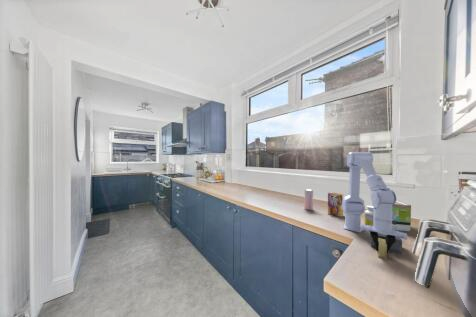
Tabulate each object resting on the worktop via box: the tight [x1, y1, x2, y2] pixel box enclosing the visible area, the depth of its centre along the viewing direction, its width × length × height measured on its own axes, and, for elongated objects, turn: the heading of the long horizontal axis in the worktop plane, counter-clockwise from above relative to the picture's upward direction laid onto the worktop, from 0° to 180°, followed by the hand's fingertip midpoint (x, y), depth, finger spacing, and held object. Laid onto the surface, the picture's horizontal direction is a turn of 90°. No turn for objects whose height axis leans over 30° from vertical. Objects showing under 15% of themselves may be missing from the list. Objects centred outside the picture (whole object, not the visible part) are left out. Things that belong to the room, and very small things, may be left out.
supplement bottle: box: [364, 205, 374, 226], centre depth 93 cm, size 7×7×13 cm
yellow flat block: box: [376, 238, 388, 260], centre depth 69 cm, size 5×2×6 cm, turn 145°
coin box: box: [368, 232, 403, 255], centre depth 76 cm, size 10×10×6 cm
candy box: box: [327, 191, 344, 218], centre depth 116 cm, size 9×4×15 cm, turn 47°
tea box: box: [392, 199, 412, 232], centre depth 99 cm, size 15×10×15 cm, turn 168°
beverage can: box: [304, 188, 314, 211], centre depth 128 cm, size 6×6×15 cm
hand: (381, 251), depth 69 cm, fingers closed on yellow flat block, 2 cm apart
